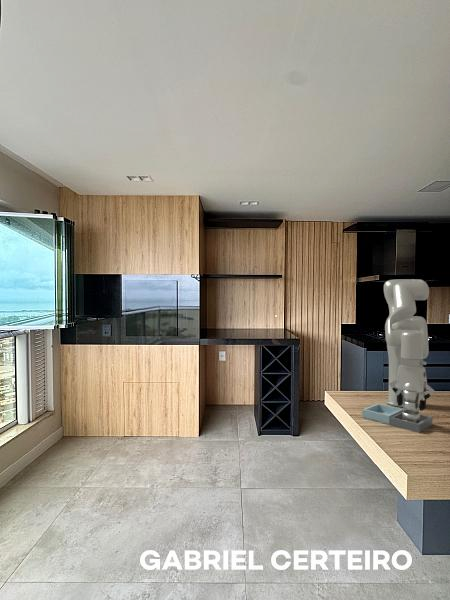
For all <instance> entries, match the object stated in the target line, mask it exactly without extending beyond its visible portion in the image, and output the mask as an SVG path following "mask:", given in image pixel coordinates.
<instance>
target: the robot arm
mask: <svg viewBox="0 0 450 600" xmlns="http://www.w3.org/2000/svg"><path fill="white" fill-rule="evenodd" d="M383 294H384V298H385V300H386V303H387V304H388V305H387V306H388V310H389V315H388V317H387V318H386V320H385V324H384V331H385V333H384V334H385V335H384V336H385V342H386V349H387V354H388V356H387V357H388V398H385V400H384V402H385V403H386V405H387V404H388V406H392V407H397V408H403V406H404V396H403V386H404V385H405V384H407V383H409V384H412V385H413V386H414V387H415V388H416V393H418V394H419V398H420V399H419V411H425V409H426V408H427V400H428V399H429V398H430V397H432V396H433V394H435V392H436V391H435V390H434V389H433V388H432V387H431V386H430V385H429V384H428V380H427V372H426V367H424V366H426V365H427V361H425V360H424V359H427V357H428V356H429V350H430V349H429V335H428V334H429V333H428V324H427V320H426V319H425V318H424V317H423V316H418V315H415V314H416V313H417V306H416V301H426V300H427V299H428V298H429V295H430V288H429V285H428V284H427V282H426V281H424V280H423V279H421V278H420V279H417V278H416V279H413V278H411V279H409V278H408V279H407V278H406V279H405V278H404V279H389V280H387V281H385V282H384V284H383ZM414 315H415V316H414ZM427 391H428V392H427ZM426 392H427V394H426Z"/></svg>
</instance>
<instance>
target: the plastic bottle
mask: <svg viewBox="0 0 450 600" xmlns="http://www.w3.org/2000/svg"><path fill="white" fill-rule="evenodd" d="M403 396H404V406H403V407H402V409H403V413H402V420H405V421H409V422H413V423H419V422H420V415H419V414H420V396H419V394H418V393H416V388H415V387H414V386H413V385H412V384H409V383H407V384H405V385H404V386H403Z"/></svg>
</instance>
